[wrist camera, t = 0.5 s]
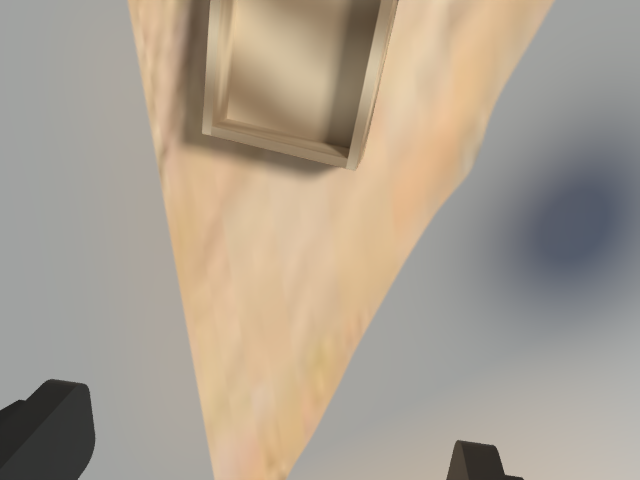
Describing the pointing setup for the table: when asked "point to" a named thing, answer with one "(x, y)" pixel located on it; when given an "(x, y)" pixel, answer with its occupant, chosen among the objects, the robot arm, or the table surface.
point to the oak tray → (296, 74)
